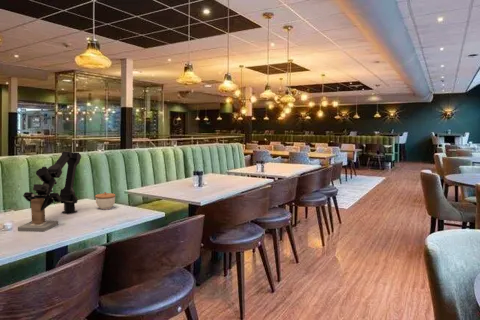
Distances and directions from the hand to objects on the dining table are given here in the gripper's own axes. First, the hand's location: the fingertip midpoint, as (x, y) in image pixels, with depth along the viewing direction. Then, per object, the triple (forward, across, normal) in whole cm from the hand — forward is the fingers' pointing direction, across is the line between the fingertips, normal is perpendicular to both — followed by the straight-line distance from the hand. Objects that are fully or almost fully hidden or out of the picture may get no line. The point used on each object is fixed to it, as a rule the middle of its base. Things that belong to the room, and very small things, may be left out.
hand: (36, 210), depth 190 cm
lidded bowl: (-26, +18, +41) cm, 52 cm away
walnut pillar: (+4, 0, +6) cm, 7 cm away
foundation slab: (+6, 0, +8) cm, 10 cm away
